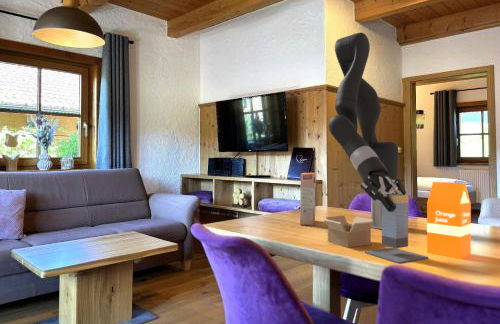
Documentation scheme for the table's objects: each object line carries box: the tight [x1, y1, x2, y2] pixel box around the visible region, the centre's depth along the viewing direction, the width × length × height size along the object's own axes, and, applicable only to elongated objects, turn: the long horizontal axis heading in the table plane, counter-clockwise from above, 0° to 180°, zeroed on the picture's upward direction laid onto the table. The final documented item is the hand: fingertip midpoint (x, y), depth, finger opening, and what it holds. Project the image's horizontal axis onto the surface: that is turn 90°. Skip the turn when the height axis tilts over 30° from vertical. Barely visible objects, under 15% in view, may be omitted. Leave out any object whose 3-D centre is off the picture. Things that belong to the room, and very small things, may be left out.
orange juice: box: [426, 181, 472, 260], centre depth 105 cm, size 8×9×20 cm
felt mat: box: [364, 247, 429, 264], centre depth 103 cm, size 11×12×1 cm
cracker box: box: [299, 172, 317, 227], centre depth 156 cm, size 14×6×21 cm, turn 168°
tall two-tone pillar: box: [381, 194, 409, 249], centre depth 103 cm, size 4×5×14 cm
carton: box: [323, 215, 374, 248], centre depth 119 cm, size 14×14×8 cm
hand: (399, 209), depth 102 cm, fingers closed on tall two-tone pillar, 4 cm apart
